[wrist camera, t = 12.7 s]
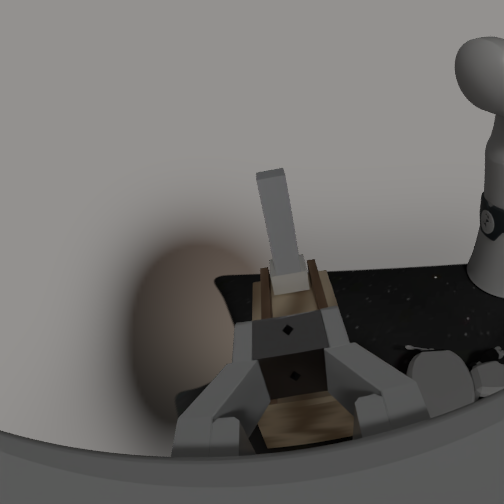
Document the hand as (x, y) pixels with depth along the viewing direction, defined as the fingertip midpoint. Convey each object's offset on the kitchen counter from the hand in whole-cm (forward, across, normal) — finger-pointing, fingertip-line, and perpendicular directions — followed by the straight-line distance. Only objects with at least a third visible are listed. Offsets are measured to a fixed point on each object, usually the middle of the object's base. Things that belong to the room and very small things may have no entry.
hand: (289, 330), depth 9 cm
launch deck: (+20, 0, -27) cm, 33 cm away
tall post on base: (+27, 0, -17) cm, 32 cm away
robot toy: (+10, +18, -27) cm, 34 cm away
